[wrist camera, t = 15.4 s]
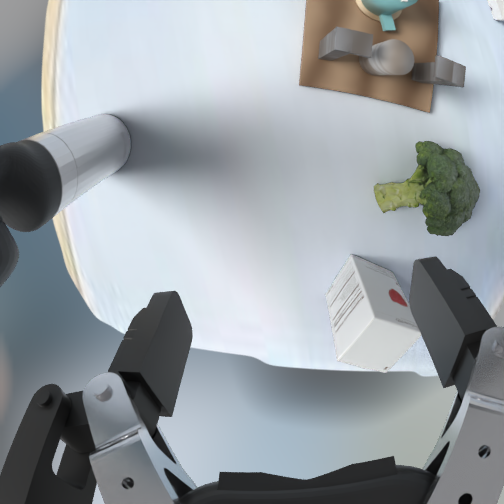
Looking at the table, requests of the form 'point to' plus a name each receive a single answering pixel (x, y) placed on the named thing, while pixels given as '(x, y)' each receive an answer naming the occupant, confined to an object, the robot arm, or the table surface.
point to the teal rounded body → (386, 10)
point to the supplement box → (369, 316)
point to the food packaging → (497, 9)
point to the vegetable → (435, 189)
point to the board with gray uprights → (376, 52)
